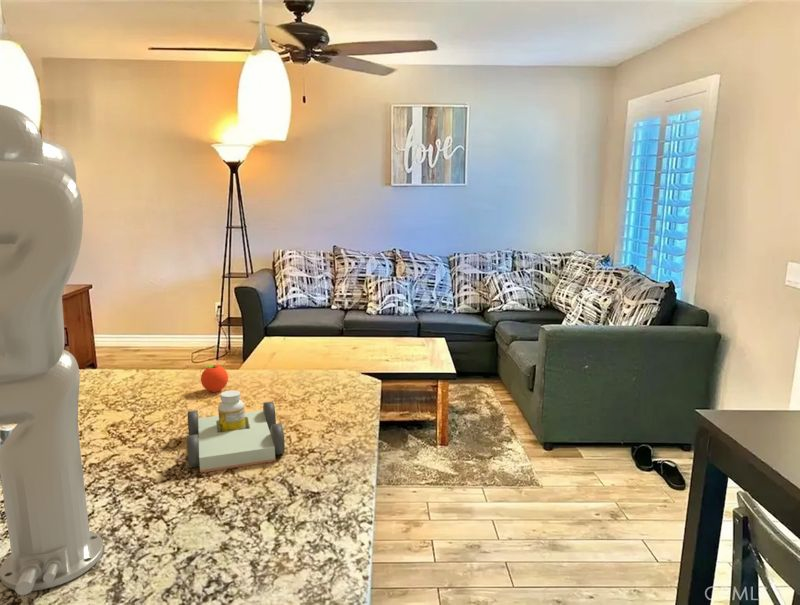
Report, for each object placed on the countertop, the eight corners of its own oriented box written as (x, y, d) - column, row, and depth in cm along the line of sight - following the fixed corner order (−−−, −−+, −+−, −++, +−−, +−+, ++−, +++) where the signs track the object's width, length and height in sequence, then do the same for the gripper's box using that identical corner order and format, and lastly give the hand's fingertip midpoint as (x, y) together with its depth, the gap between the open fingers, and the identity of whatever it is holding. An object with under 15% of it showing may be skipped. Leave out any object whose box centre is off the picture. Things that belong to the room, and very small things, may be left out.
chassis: (285, 459, 113) (284, 431, 111) (188, 474, 107) (186, 444, 105) (272, 421, 131) (271, 397, 130) (189, 432, 125) (187, 406, 124)
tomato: (192, 393, 149) (190, 367, 147) (208, 385, 155) (206, 360, 154) (219, 396, 147) (217, 370, 145) (234, 387, 153) (232, 362, 152)
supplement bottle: (246, 439, 120) (243, 396, 119) (219, 442, 119) (217, 399, 117) (245, 429, 126) (243, 388, 124) (220, 432, 124) (217, 390, 122)
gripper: (29, 235, 88) (42, 342, 91) (55, 228, 104) (65, 319, 107) (-28, 236, 85) (-13, 346, 89) (7, 229, 101) (18, 322, 105)
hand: (30, 331), depth 98 cm, fingers open, 9 cm apart
